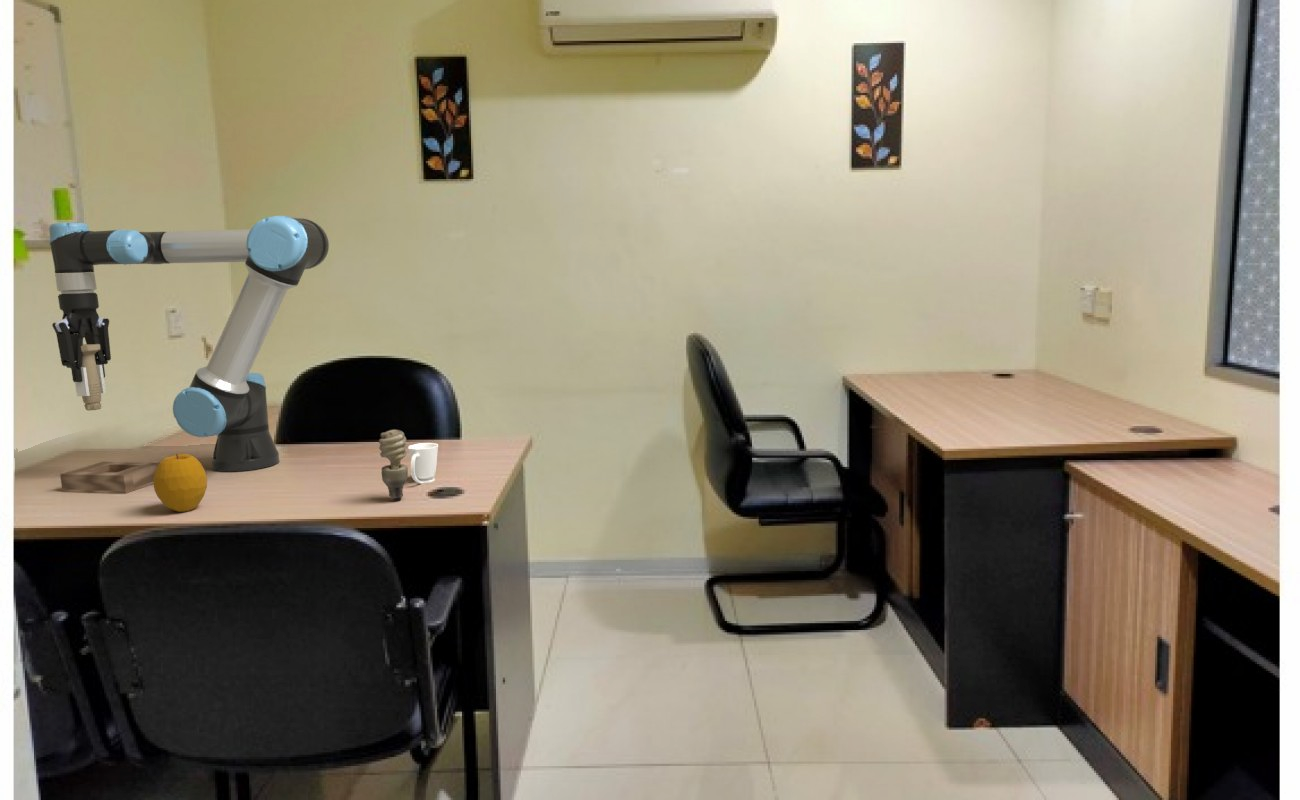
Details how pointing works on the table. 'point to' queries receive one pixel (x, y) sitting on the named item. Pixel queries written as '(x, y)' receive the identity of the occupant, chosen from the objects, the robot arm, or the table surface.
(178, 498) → the apple
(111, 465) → the slot block
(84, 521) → the table surface
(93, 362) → the handle
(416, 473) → the cup
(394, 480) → the light bulb
